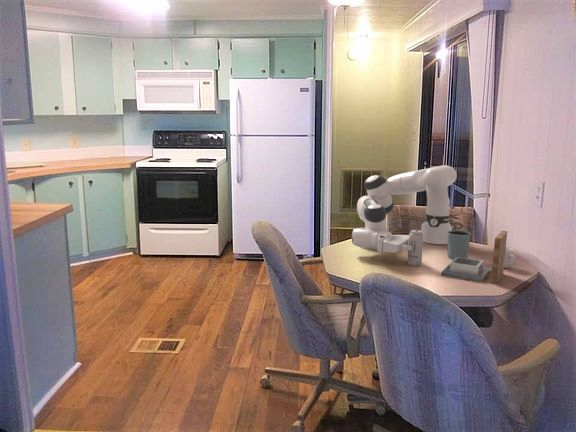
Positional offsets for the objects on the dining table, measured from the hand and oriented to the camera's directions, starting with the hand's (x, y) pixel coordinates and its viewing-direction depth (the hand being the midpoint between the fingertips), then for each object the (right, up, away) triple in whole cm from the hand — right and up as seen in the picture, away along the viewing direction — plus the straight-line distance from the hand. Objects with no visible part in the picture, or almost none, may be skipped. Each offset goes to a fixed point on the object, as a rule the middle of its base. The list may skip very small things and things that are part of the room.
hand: (416, 245), depth 223 cm
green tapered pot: (+22, -6, +14) cm, 27 cm away
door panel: (+29, -12, -15) cm, 35 cm away
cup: (+38, -10, 0) cm, 39 cm away
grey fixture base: (+19, -11, -9) cm, 23 cm away
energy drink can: (0, -8, +2) cm, 9 cm away
